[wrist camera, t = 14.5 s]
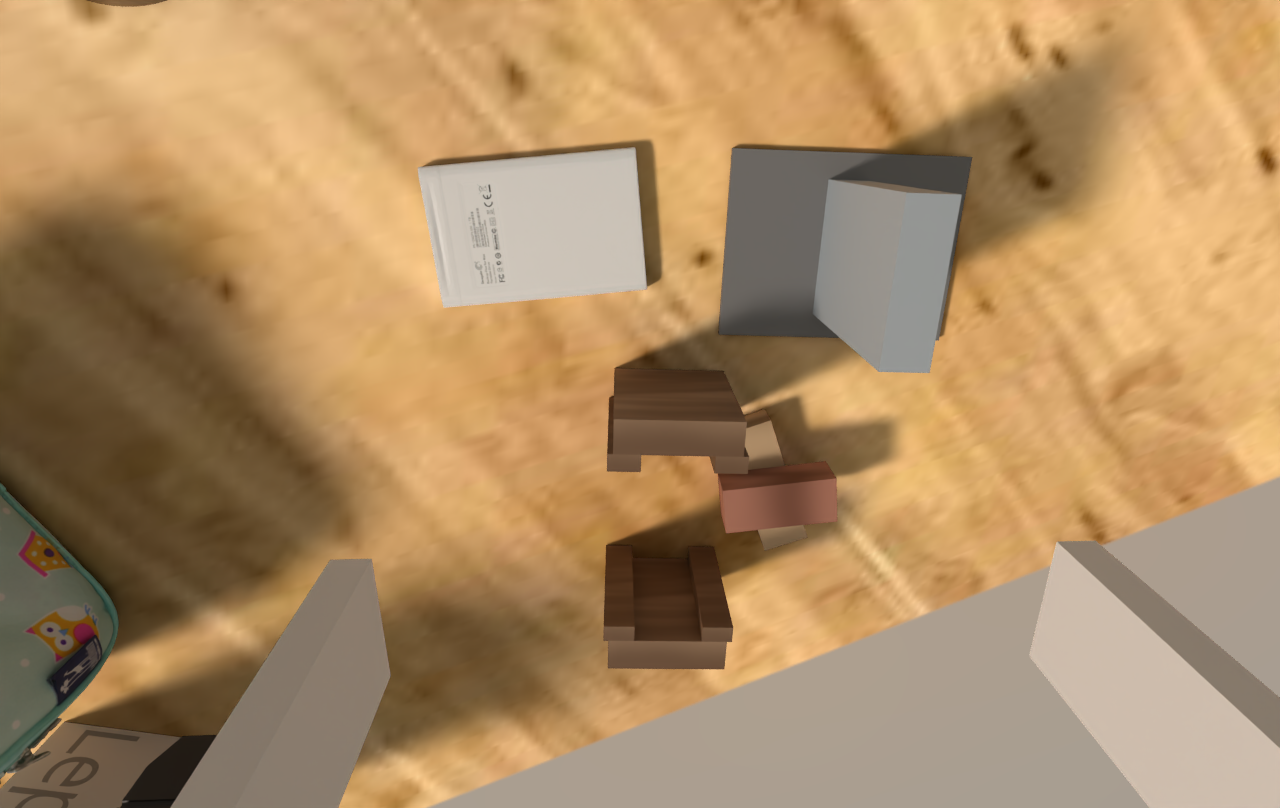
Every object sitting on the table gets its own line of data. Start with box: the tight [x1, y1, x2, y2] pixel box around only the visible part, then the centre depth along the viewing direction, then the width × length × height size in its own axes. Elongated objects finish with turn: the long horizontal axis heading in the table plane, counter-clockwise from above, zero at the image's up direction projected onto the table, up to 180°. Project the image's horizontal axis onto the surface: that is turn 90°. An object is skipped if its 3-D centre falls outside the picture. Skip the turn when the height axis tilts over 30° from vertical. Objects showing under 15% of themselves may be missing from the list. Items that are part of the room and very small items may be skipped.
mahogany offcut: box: [718, 461, 837, 533], centre depth 45 cm, size 7×3×2 cm, turn 96°
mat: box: [718, 148, 972, 340], centre depth 43 cm, size 11×14×1 cm
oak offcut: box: [744, 409, 807, 551], centre depth 48 cm, size 9×3×2 cm, turn 20°
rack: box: [604, 368, 749, 669], centre depth 44 cm, size 16×8×9 cm, turn 178°
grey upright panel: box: [813, 179, 962, 373], centre depth 37 cm, size 8×2×12 cm, turn 178°
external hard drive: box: [418, 147, 647, 307], centre depth 42 cm, size 2×8×12 cm
